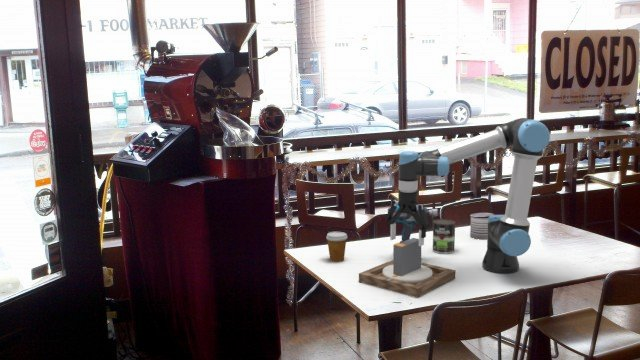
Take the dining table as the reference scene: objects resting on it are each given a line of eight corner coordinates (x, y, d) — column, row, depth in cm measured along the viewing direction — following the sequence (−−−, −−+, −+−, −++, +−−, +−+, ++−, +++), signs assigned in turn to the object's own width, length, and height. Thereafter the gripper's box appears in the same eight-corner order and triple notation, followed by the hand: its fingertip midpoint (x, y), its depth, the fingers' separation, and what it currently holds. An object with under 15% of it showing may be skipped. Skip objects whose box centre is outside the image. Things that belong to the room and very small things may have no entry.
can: (479, 241, 311) (479, 217, 309) (465, 235, 322) (465, 212, 319) (497, 238, 316) (498, 214, 314) (483, 233, 326) (483, 210, 324)
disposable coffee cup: (351, 259, 285) (351, 233, 283) (338, 264, 278) (337, 238, 276) (336, 255, 291) (335, 230, 289) (322, 260, 285) (321, 234, 282)
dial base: (455, 278, 257) (455, 269, 257) (417, 297, 237) (417, 288, 236) (398, 265, 276) (398, 256, 275) (358, 281, 255) (358, 273, 255)
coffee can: (452, 255, 289) (453, 225, 287) (430, 252, 293) (430, 223, 290) (456, 248, 299) (457, 220, 296) (435, 246, 302) (435, 218, 300)
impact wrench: (437, 263, 278) (438, 207, 273) (386, 260, 282) (386, 206, 278) (438, 257, 285) (439, 203, 281) (388, 255, 290) (388, 202, 285)
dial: (401, 264, 270) (401, 232, 267) (441, 274, 257) (442, 240, 254) (372, 276, 255) (372, 242, 253) (414, 287, 242) (414, 251, 239)
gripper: (440, 193, 244) (438, 246, 248) (387, 185, 261) (387, 235, 264) (430, 196, 239) (428, 250, 242) (377, 188, 255) (376, 238, 259)
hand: (406, 242), depth 253 cm, fingers open, 13 cm apart
